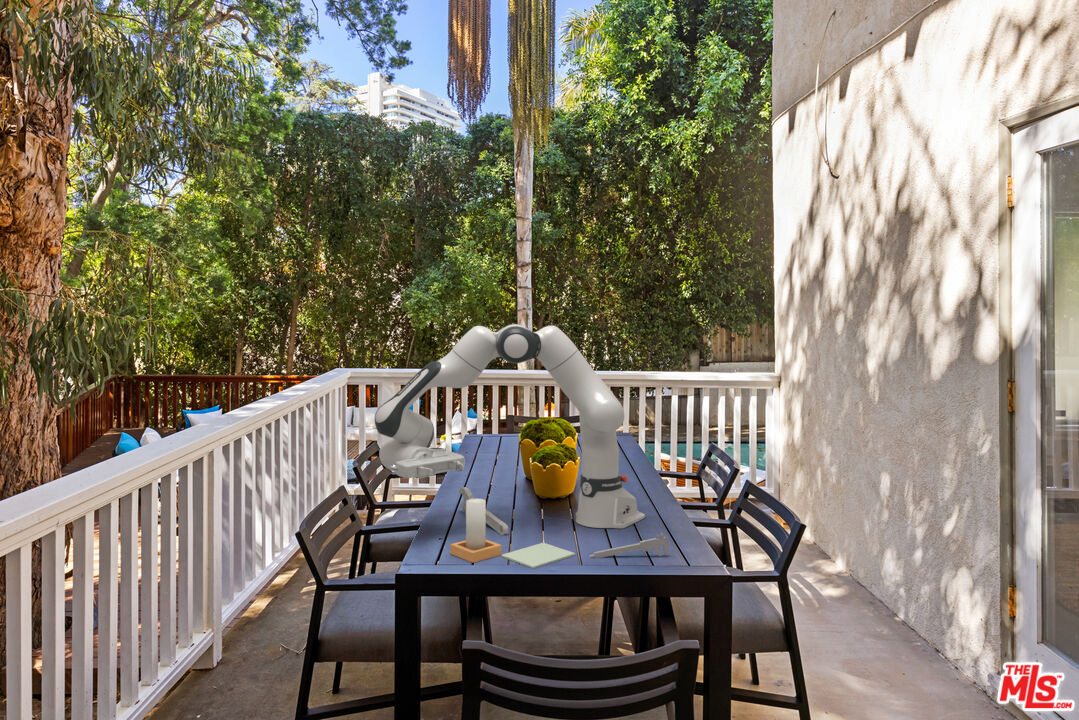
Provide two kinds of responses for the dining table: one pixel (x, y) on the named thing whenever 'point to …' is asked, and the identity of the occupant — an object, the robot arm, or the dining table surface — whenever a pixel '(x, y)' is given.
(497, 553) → the orange square frame
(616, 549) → the caliper
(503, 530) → the wrench
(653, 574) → the dining table surface
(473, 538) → the tall white pillar
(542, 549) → the mat
